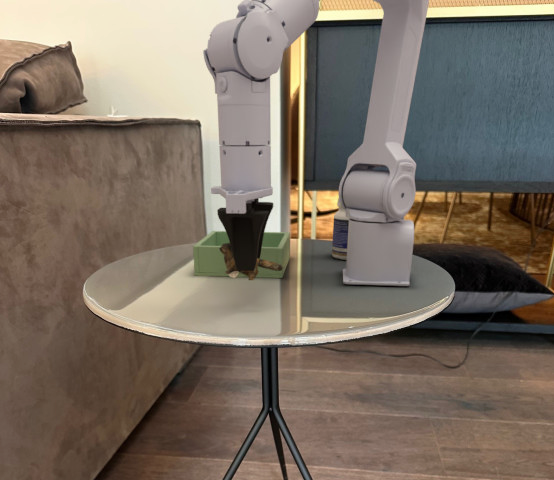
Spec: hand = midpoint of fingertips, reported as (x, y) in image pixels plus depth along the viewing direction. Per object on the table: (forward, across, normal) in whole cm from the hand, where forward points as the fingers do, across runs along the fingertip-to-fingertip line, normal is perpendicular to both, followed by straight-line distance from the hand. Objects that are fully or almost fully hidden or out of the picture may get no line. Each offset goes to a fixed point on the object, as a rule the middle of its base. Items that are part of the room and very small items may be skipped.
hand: (248, 266), depth 64 cm
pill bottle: (+6, -31, +13) cm, 34 cm away
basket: (+5, -22, -4) cm, 23 cm away
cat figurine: (+2, 0, 0) cm, 2 cm away
